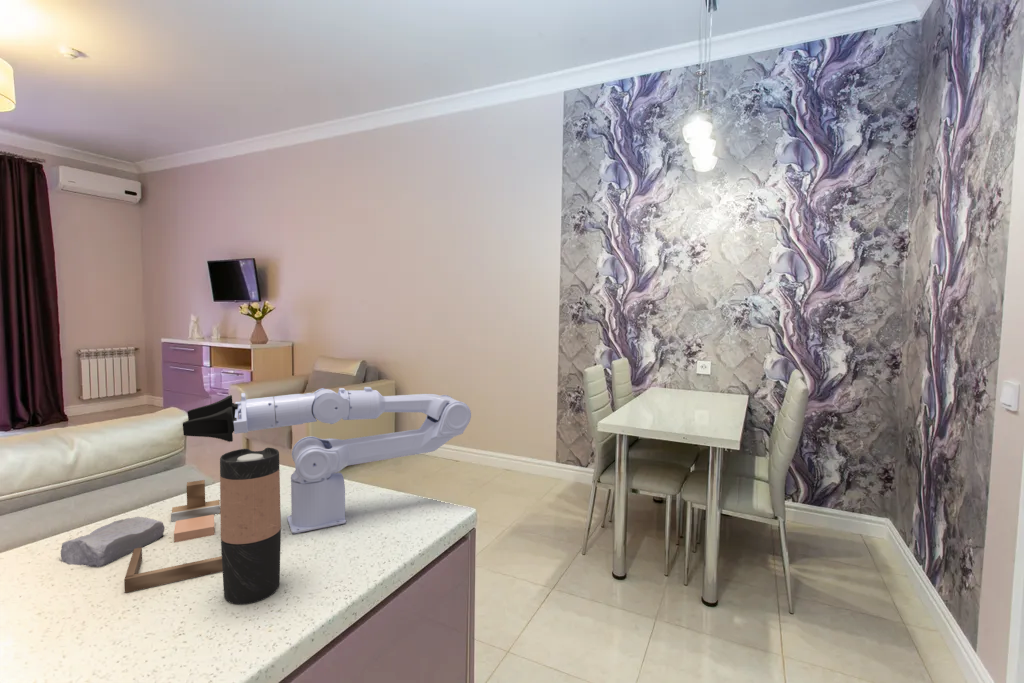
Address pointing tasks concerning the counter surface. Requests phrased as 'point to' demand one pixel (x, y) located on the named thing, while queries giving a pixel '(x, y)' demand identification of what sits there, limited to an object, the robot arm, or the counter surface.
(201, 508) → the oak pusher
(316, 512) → the robot arm
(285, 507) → the counter surface
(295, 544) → the counter surface
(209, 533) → the terracotta tile
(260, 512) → the travel mug
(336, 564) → the counter surface
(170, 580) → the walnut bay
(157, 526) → the stone block
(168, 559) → the counter surface
